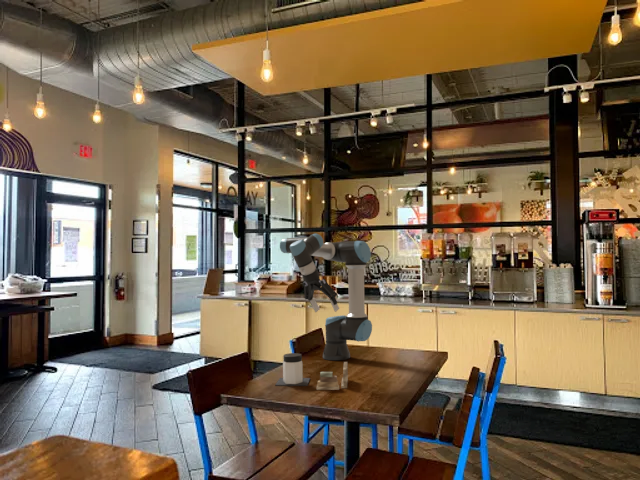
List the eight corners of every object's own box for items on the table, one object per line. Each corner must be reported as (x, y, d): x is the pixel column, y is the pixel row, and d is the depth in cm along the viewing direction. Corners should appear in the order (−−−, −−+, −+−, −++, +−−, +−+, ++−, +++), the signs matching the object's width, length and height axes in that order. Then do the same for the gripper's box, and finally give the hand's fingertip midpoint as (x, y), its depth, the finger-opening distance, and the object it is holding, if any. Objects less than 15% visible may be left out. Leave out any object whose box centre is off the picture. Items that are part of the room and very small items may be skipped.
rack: (316, 389, 200) (316, 370, 200) (319, 379, 217) (319, 361, 217) (346, 389, 199) (346, 370, 199) (347, 379, 216) (347, 361, 216)
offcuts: (317, 386, 200) (317, 373, 200) (318, 385, 203) (317, 371, 203) (337, 386, 199) (337, 373, 200) (338, 385, 202) (337, 371, 203)
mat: (275, 385, 208) (275, 384, 208) (279, 379, 219) (279, 377, 219) (307, 385, 206) (307, 384, 206) (310, 379, 218) (310, 377, 218)
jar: (304, 383, 208) (304, 356, 209) (286, 385, 206) (285, 357, 207) (299, 378, 217) (298, 352, 218) (281, 380, 215) (281, 353, 215)
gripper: (287, 277, 230) (304, 315, 235) (322, 273, 212) (341, 314, 217) (297, 270, 235) (314, 306, 240) (332, 265, 217) (350, 305, 222)
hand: (327, 310), depth 228 cm, fingers open, 13 cm apart
